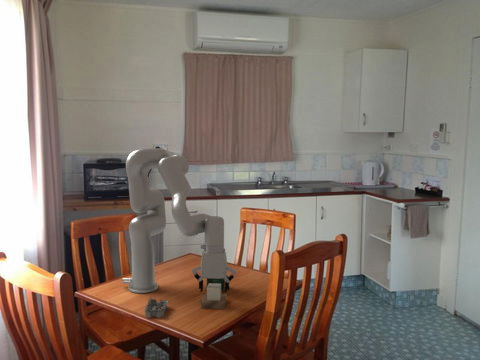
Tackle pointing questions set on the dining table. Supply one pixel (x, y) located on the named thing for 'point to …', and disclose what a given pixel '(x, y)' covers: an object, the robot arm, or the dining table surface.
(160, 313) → the egg carton
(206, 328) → the dining table surface
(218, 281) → the coffee jar
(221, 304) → the base
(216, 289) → the cube
